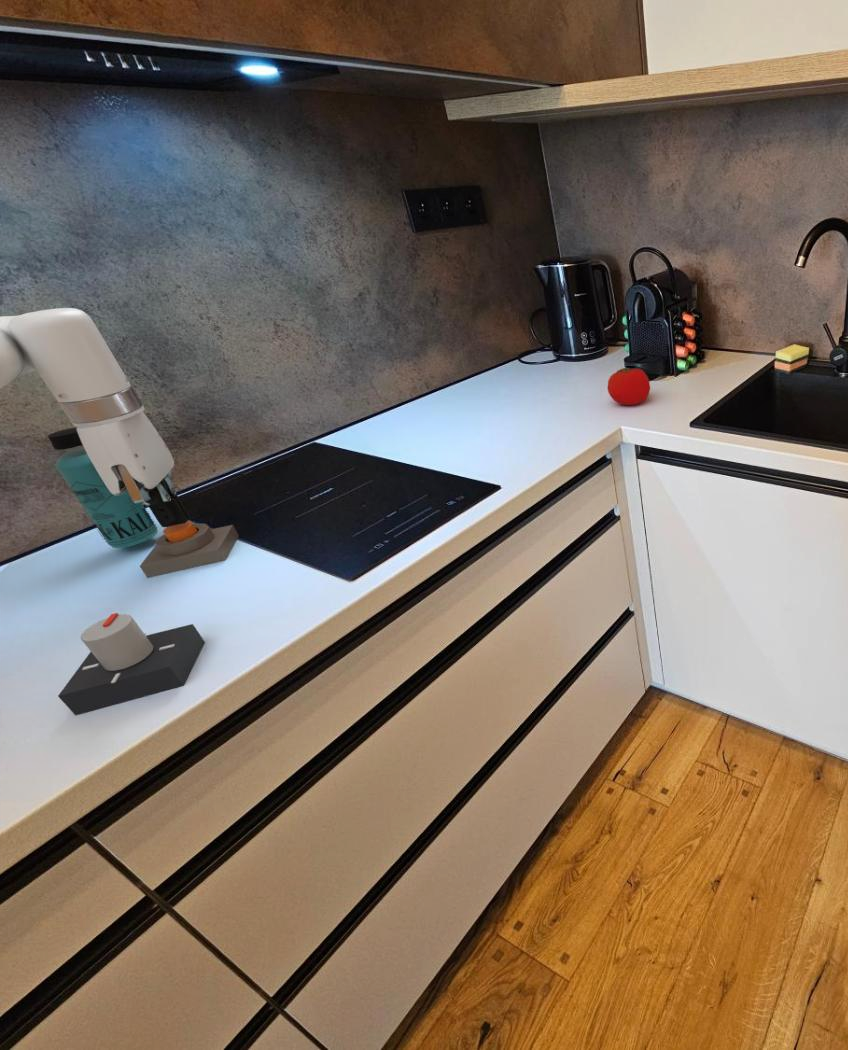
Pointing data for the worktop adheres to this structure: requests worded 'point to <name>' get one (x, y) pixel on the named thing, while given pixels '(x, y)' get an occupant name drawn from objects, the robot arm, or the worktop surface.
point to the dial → (117, 642)
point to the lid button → (180, 531)
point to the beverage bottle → (101, 496)
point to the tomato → (629, 386)
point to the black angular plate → (135, 672)
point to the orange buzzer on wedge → (190, 550)
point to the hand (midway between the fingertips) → (176, 522)
